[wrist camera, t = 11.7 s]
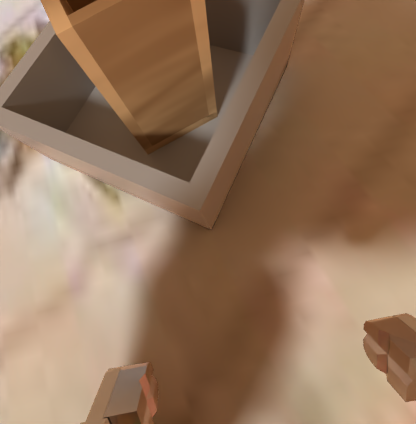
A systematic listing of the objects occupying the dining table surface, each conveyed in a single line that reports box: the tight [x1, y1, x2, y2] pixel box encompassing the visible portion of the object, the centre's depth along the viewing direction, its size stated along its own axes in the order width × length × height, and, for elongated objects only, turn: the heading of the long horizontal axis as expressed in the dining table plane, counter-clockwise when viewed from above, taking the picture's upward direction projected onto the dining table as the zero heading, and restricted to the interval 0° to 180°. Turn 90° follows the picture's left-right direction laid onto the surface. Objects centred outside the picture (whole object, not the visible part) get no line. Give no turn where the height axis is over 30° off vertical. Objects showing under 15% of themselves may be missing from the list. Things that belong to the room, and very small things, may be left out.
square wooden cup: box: [41, 0, 217, 154], centre depth 12 cm, size 6×6×8 cm
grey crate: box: [0, 0, 304, 230], centre depth 14 cm, size 14×14×5 cm
